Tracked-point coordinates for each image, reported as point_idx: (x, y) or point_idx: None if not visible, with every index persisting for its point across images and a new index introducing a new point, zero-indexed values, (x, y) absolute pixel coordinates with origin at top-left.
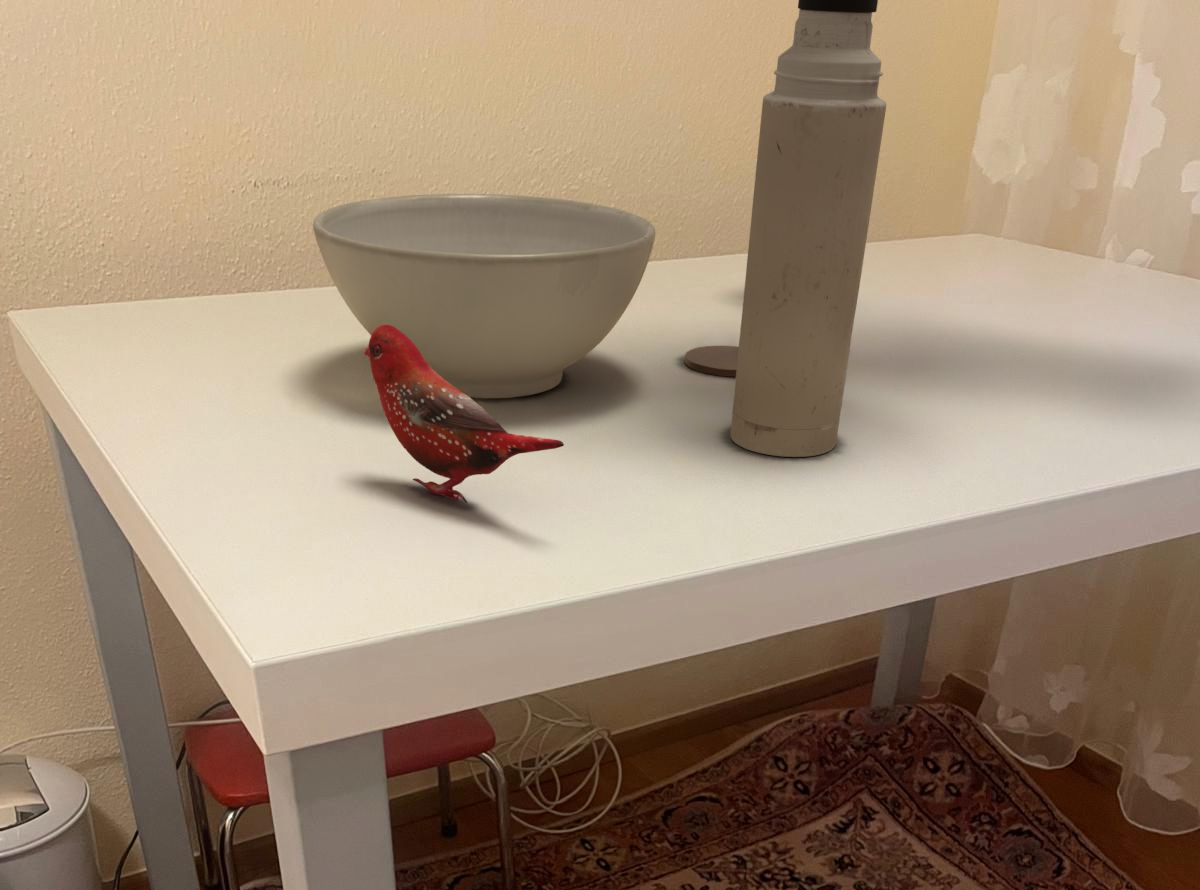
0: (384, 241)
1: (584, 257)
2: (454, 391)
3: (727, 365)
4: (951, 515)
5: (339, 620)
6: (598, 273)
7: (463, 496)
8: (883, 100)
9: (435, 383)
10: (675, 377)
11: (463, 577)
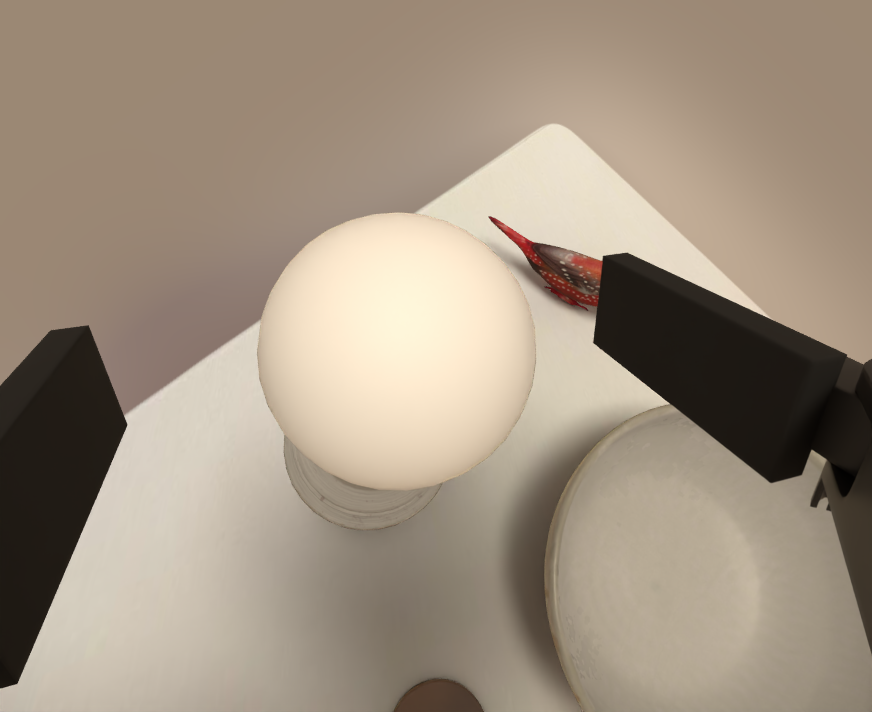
0: (851, 661)
1: (583, 460)
2: (578, 258)
3: (436, 698)
4: (227, 349)
5: (543, 153)
6: (568, 481)
7: (547, 287)
8: (288, 447)
9: (593, 260)
10: (483, 653)
11: (509, 201)
